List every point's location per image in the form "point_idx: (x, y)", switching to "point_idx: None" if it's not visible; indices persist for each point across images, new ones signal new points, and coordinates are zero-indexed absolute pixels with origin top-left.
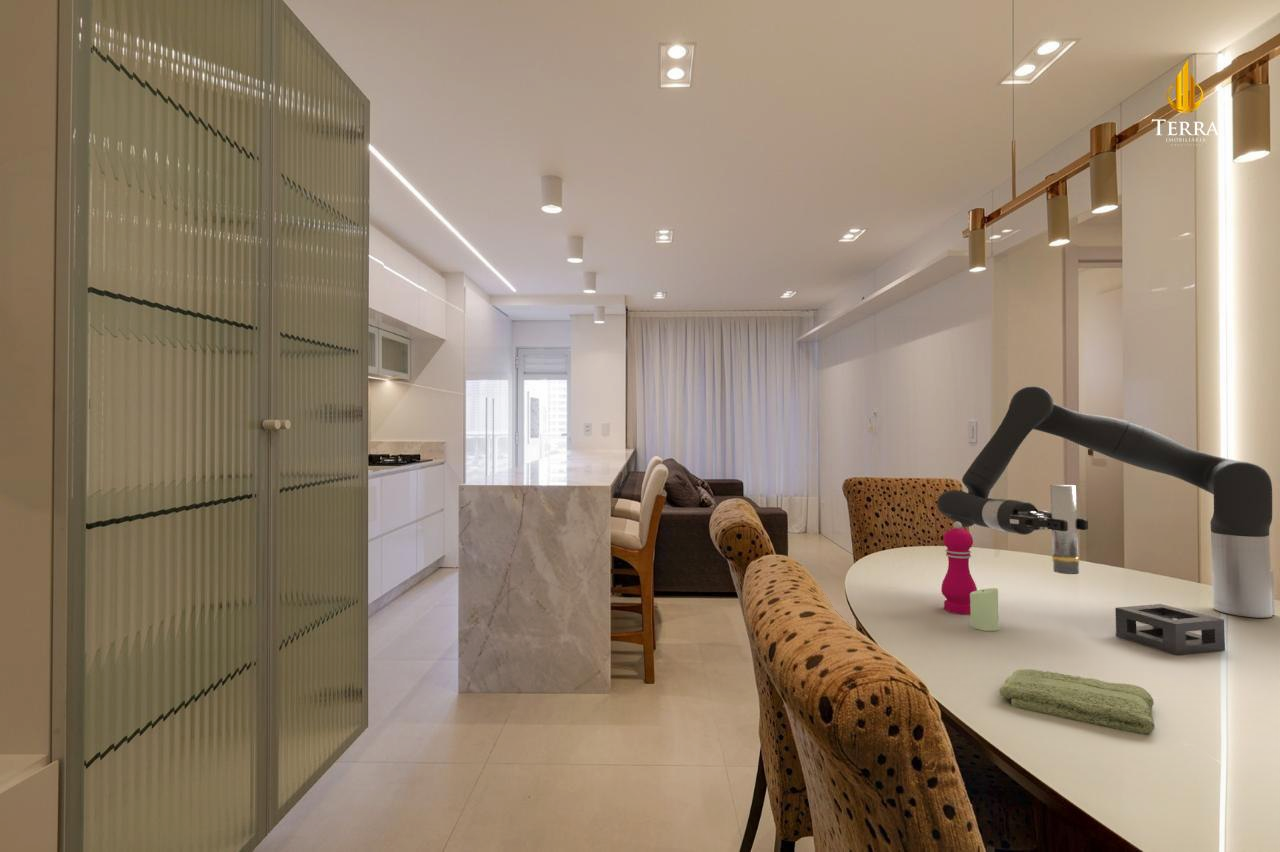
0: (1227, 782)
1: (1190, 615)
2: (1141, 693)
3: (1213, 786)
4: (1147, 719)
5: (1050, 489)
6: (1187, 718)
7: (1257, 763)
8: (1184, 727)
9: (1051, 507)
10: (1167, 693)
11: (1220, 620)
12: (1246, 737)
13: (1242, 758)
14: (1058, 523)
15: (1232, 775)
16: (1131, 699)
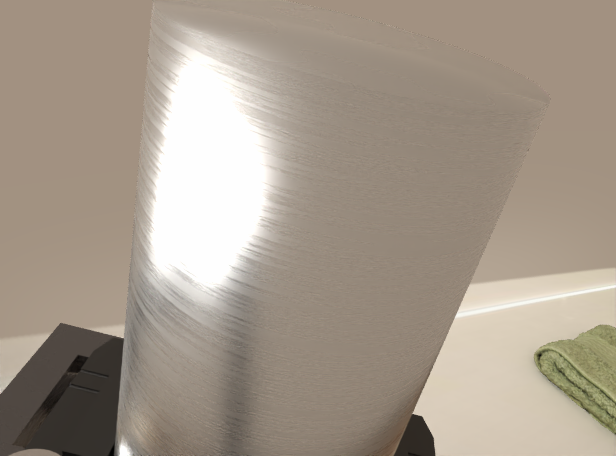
0: (587, 288)
1: (62, 377)
2: (568, 342)
3: (606, 292)
4: (608, 325)
5: (499, 193)
6: (509, 332)
7: (527, 283)
8: (536, 328)
9: (398, 438)
10: (460, 367)
11: (73, 327)
12: (484, 295)
13: (533, 290)
14: (422, 436)
15: (572, 288)
16: (598, 343)
